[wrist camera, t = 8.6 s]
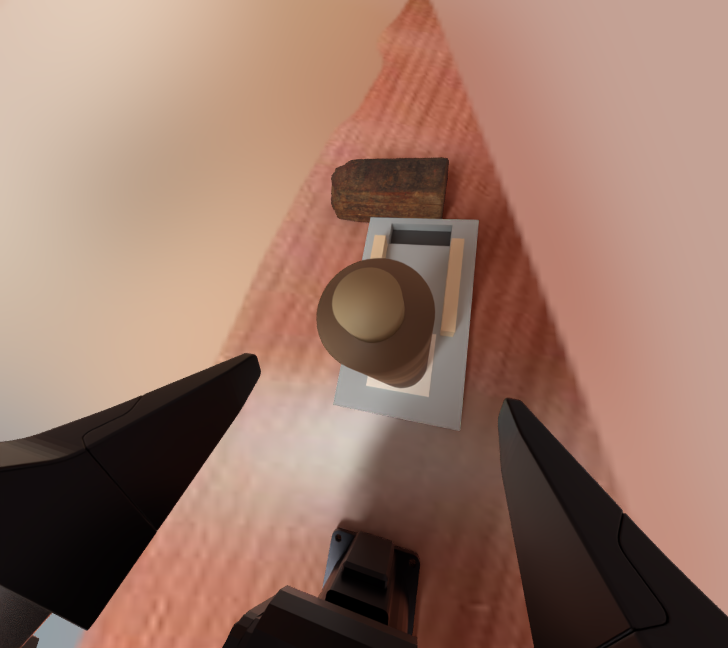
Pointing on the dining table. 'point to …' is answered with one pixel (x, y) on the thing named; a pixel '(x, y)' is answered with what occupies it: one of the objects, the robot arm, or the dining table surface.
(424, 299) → the pepper mill
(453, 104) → the dining table surface
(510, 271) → the dining table surface
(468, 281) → the board
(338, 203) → the brick
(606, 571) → the robot arm
